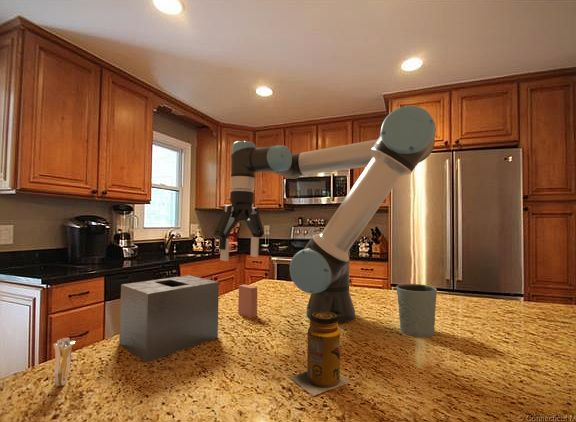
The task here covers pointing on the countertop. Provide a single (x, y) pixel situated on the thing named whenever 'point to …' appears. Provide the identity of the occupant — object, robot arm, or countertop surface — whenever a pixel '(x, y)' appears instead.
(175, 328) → the coin box
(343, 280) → the robot arm
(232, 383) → the countertop surface
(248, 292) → the block
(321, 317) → the condiment
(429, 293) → the grey cup
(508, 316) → the countertop surface
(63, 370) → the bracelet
